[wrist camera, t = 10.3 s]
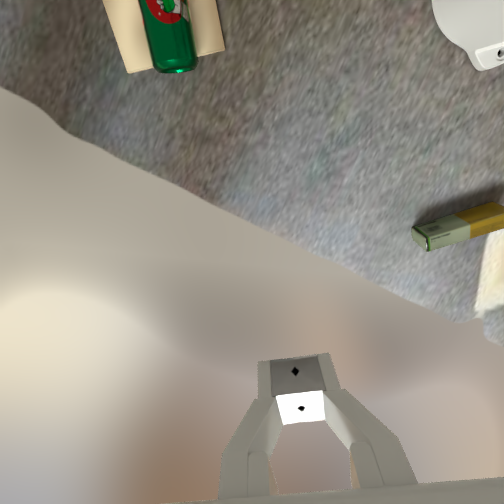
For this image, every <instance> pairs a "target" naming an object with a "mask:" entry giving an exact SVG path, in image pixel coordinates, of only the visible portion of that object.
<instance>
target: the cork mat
mask: <svg viewBox="0 0 504 504" xmlns="http://www.w3.org/2000/svg"><path fill="white" fill-rule="evenodd" d="M188 1H189V7H190V13H191V19H192V25H193V31H194V37H195V43H196V49H197V55H198V57H199V56H203V55H207V54H211V53H215V52H219V51H223V50H225V46H224V40H223V35H222V30H221V25H220V20H219V15H218V10H217V5H216V0H188ZM103 3H104V6H105V9H106V12H107V15H108V17H109V20H110V23H111V26H112V29H113V32H114V35H115V38H116V41H117V43H118V46H119V49H120V52H121V55H122V58H123V61H124V64H125V66H126V69H127V72H128V73H134V72H138V71H142V70H146V69H150V68H154V67H153V66H152V62H151V58H150V54H149V49H148V45H147V41H146V37H145V32H144V28H143V24H142V20H141V16H140V11H139V7H138V3H137V0H103Z"/></svg>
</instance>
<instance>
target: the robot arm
mask: <svg viewBox="0 0 504 504" xmlns="http://www.w3.org/2000/svg"><path fill="white" fill-rule="evenodd" d="M432 7H433V12H434V16H435V18H436V21H437V23H438V26H439V27H440V29H441V31H442V32H443V33H444V35H445V36H446V37H447V38H448V39H449V40H450V41H452V42H453V43H455V44H456V45H458V46H460V47H461V48H463V49H464V50H465V51H466V52H467V54H468V56H469V58H470V60H471V62H472V64H473V66H474V67H475V68H476V69H477V70H479V71H484V70H488V69H491V68H493V67H496V66H498V65H501V64H503V63H504V0H432ZM499 50H500V55H499V57H498V55H497V54H498V51H499ZM321 420H326V422H327V424H328V425H329V426H330V427H331V429H332V430H333V431H334V432H335V434H336V435H337V436H338V437H339V439H340V440H341V441H342V442H343V444H344V445H345V446H346V447H347V449H348V450H349V451H350V473H351V485H352V489H344V490H332V491H319V492H307V493H293V494H281V495H279V494H278V486H277V483H276V480H275V477H274V473H273V470H272V467H271V464H270V461H269V460H270V457H271V455H272V453H273V450H274V447H275V445H276V443H277V440H278V437H279V435H280V432H281V430H282V428H283V425H284V424H291V423H298V422H308V421H321ZM167 504H504V477H497V478H485V479H474V480H473V479H472V480H459V481H446V482H435V483H421V484H418V482H417V480H416V478H415V475H414V473H413V471H412V468H411V466H410V464H409V462H408V459H407V457H406V455H405V452H404V450H403V448H402V446H401V443H400V441H399V439H398V437H397V436H396V435H394V433H392V432H391V431H390V430H389V429H388V428H387V427H386V426H385V425H383V423H382V422H380V421H379V420H378V419H377V418H376V417H375V416H374V415H373V414H372V413H370V412H369V411H368V410H367V409H366V408H365V407H364V406H363V405H362V404H361V403H360V402H359V401H358V400H356V399H355V398H354V397H353V396H352V395H351V394H350V393H349V392H348V391H347V390H346V389H341V388H340V384H339V381H338V378H337V375H336V372H335V369H334V365H333V362H332V359H331V356H330V354H329V353H323V354H317V355H316V354H314V355H307V356H300V357H293V358H287V359H278V360H268V361H260V362H258V399H255V400H254V401H253V403H252V404H251V406H250V408H249V410H248V411H247V413H246V415H245V416H244V418H243V420H242V421H241V423H240V425H239V426H238V428H237V430H236V431H235V433H234V435H233V436H232V438H231V440H230V441H229V443H228V445H227V446H226V448H225V450H224V452H223V453H222V461H221V471H220V482H219V491H218V499H217V500H206V501H192V502H180V503H167Z"/></svg>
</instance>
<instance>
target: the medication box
mask: <svg viewBox="0 0 504 504" xmlns="http://www.w3.org/2000/svg"><path fill="white" fill-rule="evenodd" d="M503 228H504V206H502V205H499V204H497V203H494V202H489V203H486V204H483V205H480V206H477V207H474V208H470V209H467V210H464V211H461V212H458V213H455V214H452V215H448V216H445V217H442V218H439V219H436V220H433V221H430V222H427V223H423V224H420V225H417V226H414V227H412V229H411V232H412V239H413V241H415V242H416V243H417V244H418V245H419V246H420V247H422V248H423V249H424V250H425V251H426V252H428V251H432V250H435V249H438V248H442V247H445V246H448V245H451V244H455V243H458V242H461V241H464V240H468V239H471V238H474V237H477V236H480V235H484V234H487V233H490V232H493V231H497V230H500V229H503Z"/></svg>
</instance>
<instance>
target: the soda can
mask: <svg viewBox="0 0 504 504" xmlns="http://www.w3.org/2000/svg"><path fill="white" fill-rule="evenodd" d="M137 3H138V7H139V11H140V16H141V20H142V24H143V28H144V32H145V37H146V41H147V45H148V49H149V54H150V58H151V62H152V66H153V67H154V68H155V69H156V70H157V71H158V72H160V73H180V72H187V71H191V70H194V69H195V68H196V67H197V64H198V62H199V61H198V55H197V49H196V43H195V37H194V31H193V25H192V19H191V13H190V7H189V1H188V0H137Z"/></svg>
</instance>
